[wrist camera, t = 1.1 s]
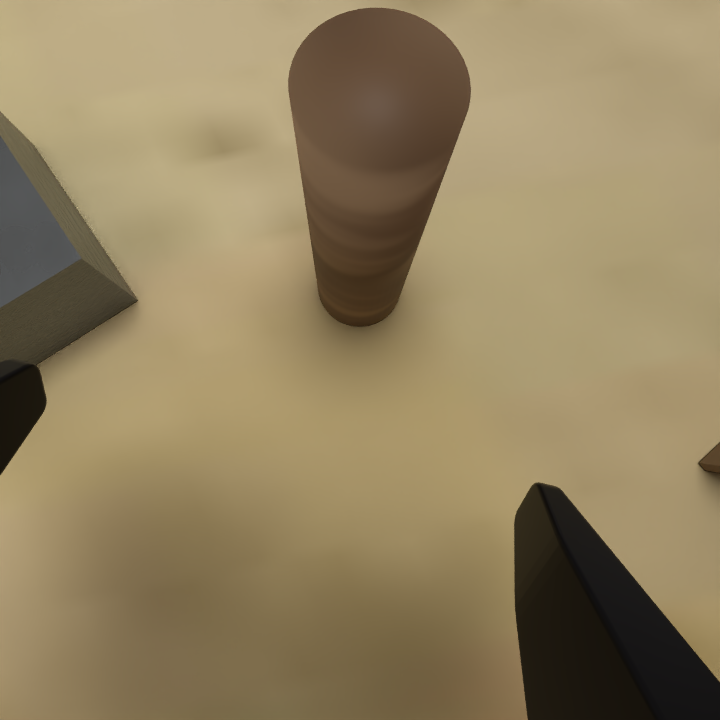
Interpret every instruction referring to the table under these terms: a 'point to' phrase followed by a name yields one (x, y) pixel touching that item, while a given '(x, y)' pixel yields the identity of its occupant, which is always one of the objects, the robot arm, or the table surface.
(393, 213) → the walnut pin
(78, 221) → the bore block
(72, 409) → the table surface
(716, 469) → the photo frame
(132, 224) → the table surface
